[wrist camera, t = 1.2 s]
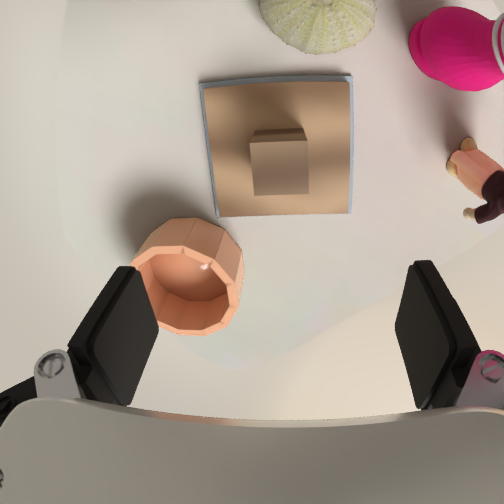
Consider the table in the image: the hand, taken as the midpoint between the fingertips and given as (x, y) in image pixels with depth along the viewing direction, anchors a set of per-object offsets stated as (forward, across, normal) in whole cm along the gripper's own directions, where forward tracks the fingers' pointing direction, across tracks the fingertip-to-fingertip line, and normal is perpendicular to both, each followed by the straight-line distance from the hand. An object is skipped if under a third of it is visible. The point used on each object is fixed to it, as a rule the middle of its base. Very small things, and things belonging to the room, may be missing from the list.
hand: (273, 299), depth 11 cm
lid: (+20, 0, 0) cm, 20 cm away
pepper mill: (+20, -15, -10) cm, 27 cm away
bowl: (+20, +10, +12) cm, 25 cm away
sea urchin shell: (+20, -4, -13) cm, 25 cm away
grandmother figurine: (+20, -18, +1) cm, 27 cm away
